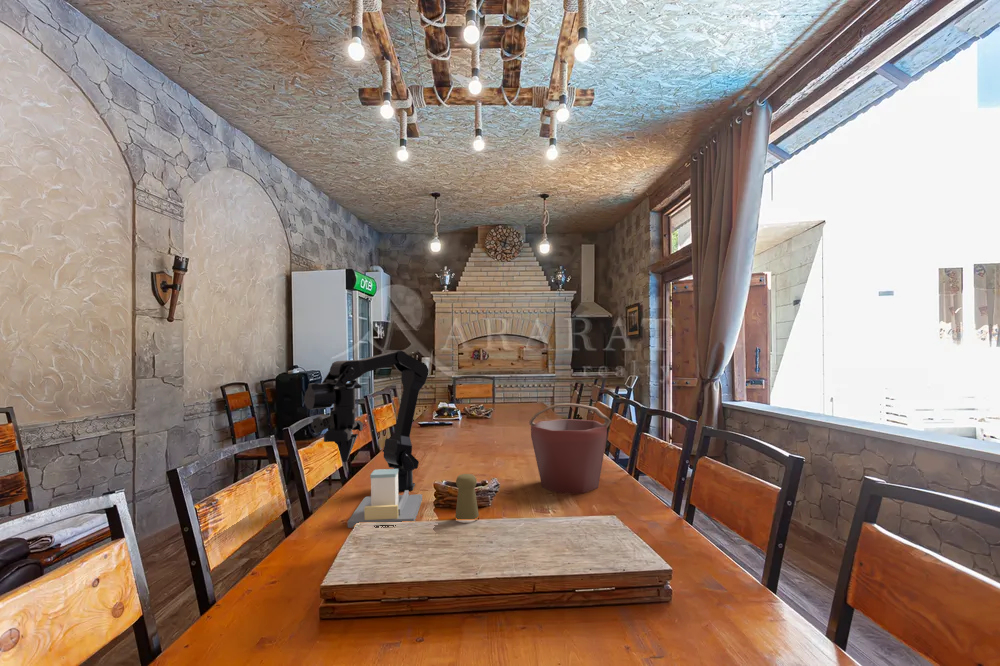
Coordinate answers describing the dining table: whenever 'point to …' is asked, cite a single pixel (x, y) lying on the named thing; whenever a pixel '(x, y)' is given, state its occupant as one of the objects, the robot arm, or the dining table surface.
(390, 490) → the white teal-topped box
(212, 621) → the dining table surface
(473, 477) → the olive green pawn
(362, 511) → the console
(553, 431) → the bucket
